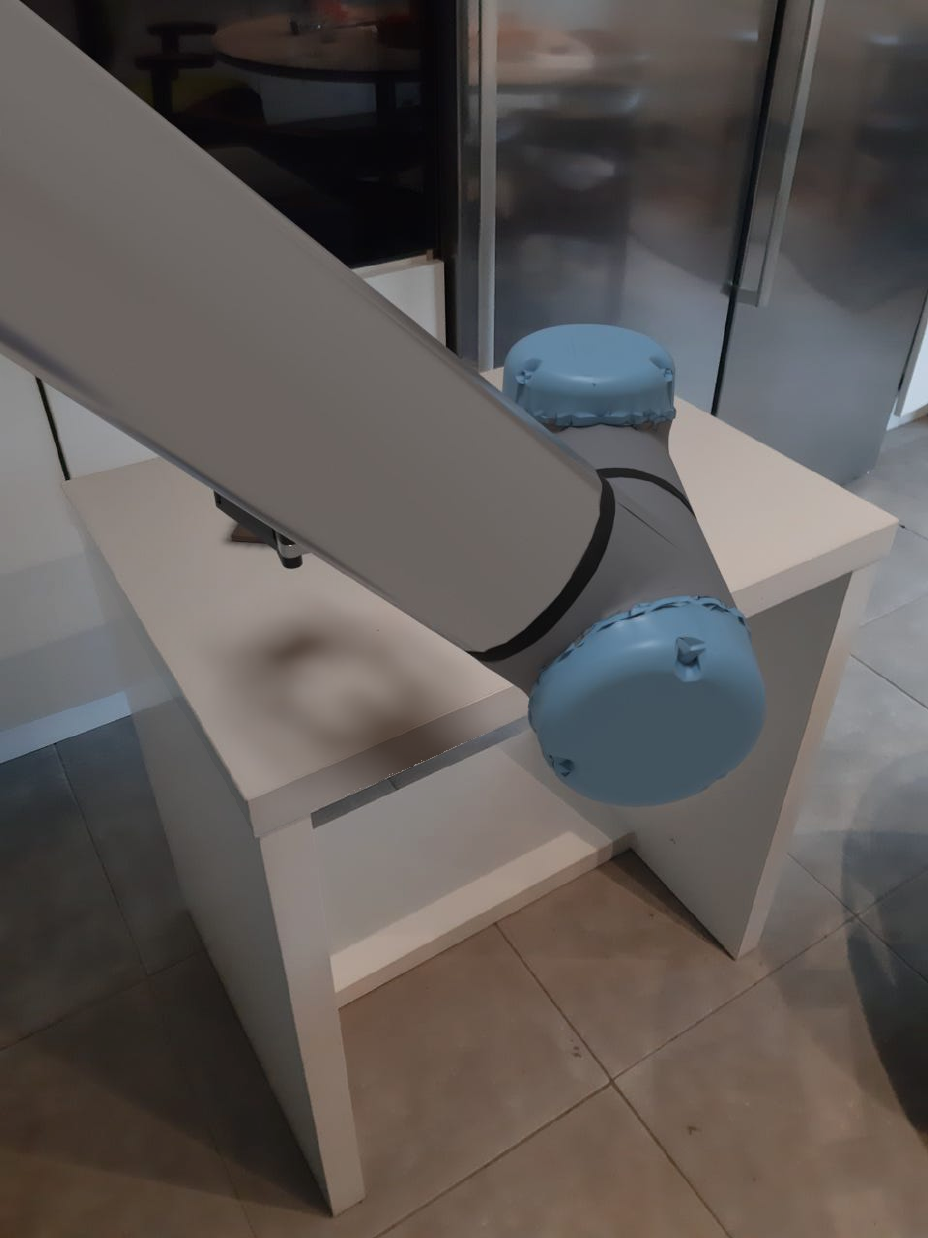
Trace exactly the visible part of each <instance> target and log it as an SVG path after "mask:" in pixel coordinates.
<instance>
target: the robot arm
mask: <svg viewBox="0 0 928 1238" xmlns="http://www.w3.org/2000/svg"><path fill="white" fill-rule="evenodd" d="M0 355H1V356H3V357H4V358H6V359H8V360H9V361H11V362H12V363H14V364H16V365H17V366H18V367H20V368H22V369H24V370H25V371H26V372H28V373H29V374H31V375H33V376H34V377H36V378H37V379H39V380H41V381H42V382H43V383H45V384H47V385H48V386H49V387H52V388H53V389H54V390H56V391H57V392H59V393H61V394H62V395H64V396H65V397H67V398H69V399H70V400H71V401H73V402H75V403H76V404H78V405H80V406H81V407H82V408H84V409H86V410H87V411H89V412H90V413H92V414H94V415H95V416H97V417H99V418H100V419H101V420H103V421H104V422H106V423H108V424H109V425H111V426H112V427H114V428H116V429H117V430H118V431H120V432H121V433H123V434H125V435H127V436H128V437H130V438H131V439H133V440H134V441H136V442H137V443H139V444H140V445H142V446H143V447H145V448H146V449H148V450H149V451H151V452H153V453H154V454H156V455H157V456H159V457H161V458H162V459H164V460H165V461H167V462H169V463H170V464H172V465H173V466H174V467H176V468H178V470H179V469H180V470H181V471H183V472H184V473H185V474H187V475H189V476H190V477H192V478H194V479H195V480H196V481H198V482H200V483H201V484H203V485H204V486H206V487H207V488H209V489H210V490H212V492H213V497H214V503H215V507H216V508H217V509H218V510H220V511H221V512H223V514H225V515H227V517H228V518H230V519H232V520H233V521H235V522H236V523H237V524H238V523H239V524H240V525H242V526H243V527H244V528H246V529H247V530H248V531H250V532H251V533H252V534H254V535H255V536H256V537H258V538H259V539H261V540H262V541H263V542H265V543H264V544H266V545H267V546H269V547H270V548H271V549H273V550H274V551H275V552H276V554H277V556H278V559H279V560H280V563H281V564H282V567H284V568H285V569H287V570H295V569H298V568H300V567H302V566H303V563H304V562H303V556H304V555H307V554H312V555H313V556H315V557H317V558H318V559H320V560H321V561H322V562H324V563H326V564H327V565H329V566H331V567H332V568H334V569H335V570H337V571H338V572H340V573H342V574H343V575H344V576H346V577H348V578H349V579H351V580H353V581H354V582H356V583H357V584H358V585H360V586H361V587H363V588H365V589H366V590H368V591H369V592H371V593H373V594H374V595H375V596H377V597H378V598H381V599H382V600H384V601H385V602H387V603H388V604H389V605H391V606H393V607H395V608H396V609H398V610H399V611H401V612H403V614H406V615H407V616H408V617H410V618H412V619H413V620H415V621H416V622H418V623H419V624H421V625H422V626H424V627H426V628H427V629H428V630H430V631H432V632H434V633H435V634H436V635H438V636H440V637H441V638H443V639H444V640H446V641H447V642H449V643H450V644H452V645H453V646H455V647H457V648H458V649H460V650H461V651H462V652H464V653H466V654H467V655H469V656H471V657H472V658H474V659H475V660H476V661H477V662H479V663H480V664H481V665H482V666H484V667H485V668H486V669H488V670H490V671H491V672H493V673H495V674H496V675H498V676H499V677H501V678H503V679H504V680H505V681H508V682H509V683H510V684H512V685H513V686H515V687H517V689H520V691H522V692H523V693H524V694H525V695H526V697H527V698H528V704H527V720H528V723H529V726H530V728H531V729H532V731H533V733H535V734H536V737H537V741H538V744H539V746H540V750H541V754H542V757H543V758H544V760H545V762H546V763H547V765H548V766H549V768H550V769H551V770H552V771H553V772H554V775H555V776H556V777H557V779H558V780H559V781H560V782H561V783H563V784H564V785H565V786H566V787H568V788H569V789H570V790H572V791H573V792H575V793H577V794H578V795H580V796H582V797H585V798H587V799H590V800H592V801H595V802H599V803H605V804H609V805H614V806H619V807H623V808H624V807H627V808H647V807H654V806H662V805H667V804H671V803H676V802H679V801H683V800H685V799H688V798H691V797H694V796H695V795H698V794H701V793H702V792H704V791H706V790H708V789H709V788H710V787H711V786H712V785H713V784H714V783H715V782H716V781H718V780H721V779H724V778H725V777H726V776H727V775H728V774H729V772H732V771H735V770H736V769H737V768H738V767H739V766H740V765H741V764H742V763H743V762H744V761H745V760H746V758H747V757H748V756H749V755H750V754H751V752H752V751H753V749H754V747H755V746H756V744H757V743H758V740H759V738H760V736H761V733H762V731H763V728H764V725H765V721H766V717H767V693H766V687H765V682H764V679H763V677H762V673H761V669H760V667H759V664H758V661H757V658H756V655H755V651H754V649H753V646H752V640H753V636H752V635H753V634H752V630H751V628H750V626H749V624H748V622H747V618H746V616H745V614H744V613H742V612H741V610H739V609H738V607H737V604H736V602H735V600H734V597H733V596H732V593H731V591H730V589H729V587H728V584H727V582H726V580H725V579H724V576H723V574H722V571H721V570H720V569H721V568H720V567H719V565H718V562H717V560H716V558H715V556H714V553H713V552H712V549H711V548H710V545H709V542H708V541H707V539H706V537H705V534H704V532H703V530H702V528H701V526H700V524H699V522H698V519H697V516H696V512H695V511H694V509H693V506H692V504H691V501H690V499H689V497H688V494H687V491H686V489H685V487H684V485H683V482H682V479H681V478H680V475H679V473H678V471H677V469H676V466H675V464H674V462H673V460H672V457H671V455H670V448H669V437H670V431H671V428H672V425H673V421H674V419H676V418H677V417H676V416H677V409H676V407H675V405H674V403H675V388H676V387H675V385H676V365H675V361H674V359H673V357H672V355H671V353H670V352H669V351H668V350H667V348H666V347H665V346H664V345H663V344H661V343H660V342H658V341H657V340H656V339H654V338H652V337H650V336H649V335H647V334H643V333H642V332H640V331H639V332H638V331H636V330H633V329H630V328H626V327H620V326H615V325H609V324H601V323H600V324H598V323H571V324H570V323H569V324H560V325H554V326H550V327H546V328H542V329H538V330H536V331H534V332H531V333H530V334H528V335H525V336H524V337H522V338H521V339H519V340H518V341H517V342H516V343H514V345H513V346H512V347H511V348H510V350H509V351H508V353H507V355H506V357H505V359H504V364H503V371H502V386H501V390H500V389H499V388H497V386H495V385H494V384H492V382H491V381H489V380H488V379H487V378H485V377H484V376H483V375H482V374H480V373H479V372H478V371H477V370H475V369H474V368H473V367H471V365H469V364H468V363H467V362H466V361H465V360H463V359H462V358H461V357H459V356H458V355H457V354H456V353H455V352H453V351H452V350H451V349H449V348H448V347H447V346H446V345H444V344H443V343H442V342H441V341H440V340H438V339H437V338H436V337H435V336H433V335H432V334H431V333H429V332H428V331H427V330H426V329H425V328H424V327H422V326H421V325H420V324H419V323H418V322H416V321H415V320H414V319H413V318H412V317H410V316H409V315H407V314H406V313H405V312H404V311H402V309H400V308H399V307H398V306H397V305H396V304H394V303H393V302H391V300H389V299H388V298H387V297H386V296H384V295H383V294H382V293H381V292H379V291H378V290H377V289H376V288H374V287H373V286H372V285H371V284H369V283H368V282H367V281H366V280H364V279H363V278H362V277H361V276H359V274H357V273H356V272H355V271H353V270H352V269H351V268H349V267H348V266H347V265H346V264H345V263H344V262H343V261H341V260H340V259H339V258H338V257H336V256H335V255H334V254H333V253H331V252H330V251H329V250H327V249H326V248H325V247H324V246H323V245H322V244H320V243H319V242H318V241H317V240H315V239H314V238H313V237H311V236H310V234H308V233H307V232H305V231H304V230H303V229H302V228H301V227H299V226H298V225H297V224H295V222H293V221H291V219H289V218H288V217H287V216H286V215H284V214H283V213H282V212H281V211H280V210H279V209H277V208H275V207H274V205H272V204H271V203H270V202H268V200H266V199H265V198H264V197H262V196H261V194H259V193H257V192H256V191H255V190H253V188H251V187H250V186H249V185H248V184H246V183H245V182H244V181H243V180H242V179H240V178H239V177H238V176H237V175H235V174H234V173H233V172H231V171H230V170H229V169H228V168H226V167H225V166H224V165H223V164H222V163H220V162H219V161H218V160H217V159H215V158H214V157H213V156H212V155H210V154H209V153H208V152H207V151H206V150H204V149H203V148H202V147H200V146H199V145H198V144H197V143H196V142H195V141H193V140H192V139H191V138H189V136H187V135H186V134H184V133H183V132H182V131H181V130H180V129H178V127H176V126H175V125H174V124H173V123H171V122H170V121H168V119H166V118H165V117H164V116H163V115H161V114H160V113H159V112H158V111H156V110H155V108H153V107H151V106H150V105H149V104H148V103H147V102H145V101H144V100H143V99H142V98H141V97H139V96H138V95H137V94H136V93H134V92H133V91H132V90H131V89H129V88H128V87H127V86H125V85H124V84H123V83H122V82H120V80H118V79H117V78H115V76H113V75H112V74H111V73H110V72H108V71H107V70H106V69H105V68H104V67H102V66H101V65H99V63H97V62H96V61H95V60H94V59H92V58H91V57H89V56H88V54H86V53H85V52H84V51H83V50H81V49H80V48H78V47H77V45H75V44H74V43H73V42H72V41H70V40H69V39H68V38H66V37H65V36H64V35H63V34H61V32H59V31H58V30H57V29H55V28H54V27H53V26H52V25H50V24H49V23H48V22H46V20H45V19H43V18H42V17H40V16H39V14H37V13H36V12H34V11H33V10H32V9H30V7H28V6H27V5H26V4H25V3H24V2H22V1H21V0H0Z"/></svg>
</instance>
